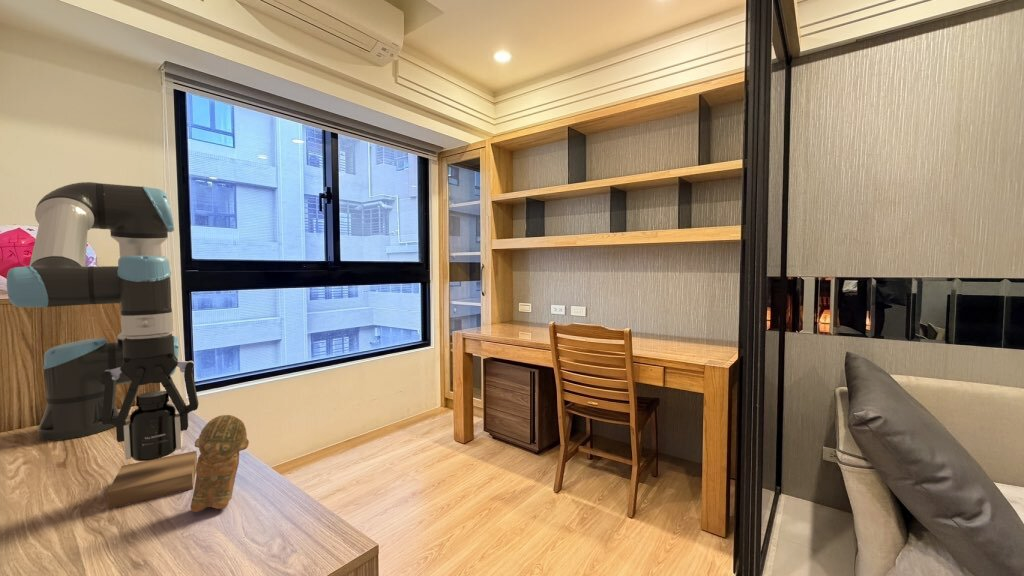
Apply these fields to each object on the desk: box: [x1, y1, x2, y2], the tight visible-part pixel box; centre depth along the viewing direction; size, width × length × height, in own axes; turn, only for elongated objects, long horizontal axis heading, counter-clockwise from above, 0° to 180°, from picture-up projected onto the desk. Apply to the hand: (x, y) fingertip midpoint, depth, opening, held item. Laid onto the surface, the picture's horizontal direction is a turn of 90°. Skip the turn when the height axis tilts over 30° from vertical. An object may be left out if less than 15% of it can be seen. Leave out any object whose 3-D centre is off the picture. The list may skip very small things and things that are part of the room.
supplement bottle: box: [129, 390, 177, 462], centre depth 82 cm, size 7×7×12 cm
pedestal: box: [106, 450, 198, 510], centre depth 83 cm, size 12×12×3 cm
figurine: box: [190, 414, 250, 513], centre depth 76 cm, size 8×8×15 cm
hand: (155, 451), depth 82 cm, fingers closed on supplement bottle, 7 cm apart
